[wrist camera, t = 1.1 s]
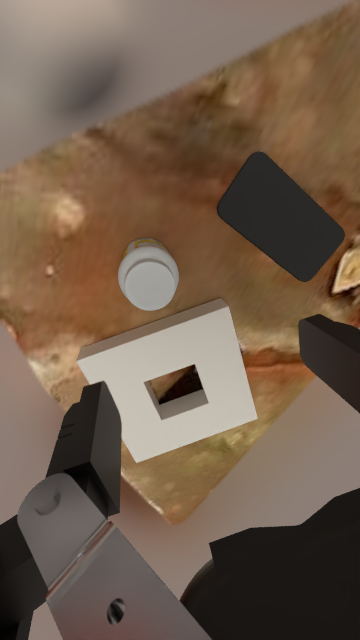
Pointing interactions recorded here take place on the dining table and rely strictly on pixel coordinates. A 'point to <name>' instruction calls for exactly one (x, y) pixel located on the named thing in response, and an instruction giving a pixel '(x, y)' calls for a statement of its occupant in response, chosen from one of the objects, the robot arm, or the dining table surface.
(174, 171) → the dining table surface
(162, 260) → the supplement bottle
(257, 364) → the dining table surface
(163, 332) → the socket block
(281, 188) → the phone
